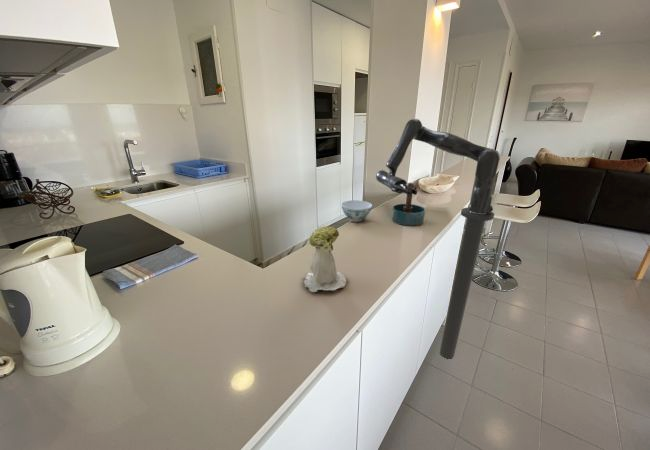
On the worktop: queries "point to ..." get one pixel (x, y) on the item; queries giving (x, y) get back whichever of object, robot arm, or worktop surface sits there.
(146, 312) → the worktop surface
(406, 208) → the pestle
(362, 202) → the chinaware
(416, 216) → the bowl
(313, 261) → the white plant vase
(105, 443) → the worktop surface
